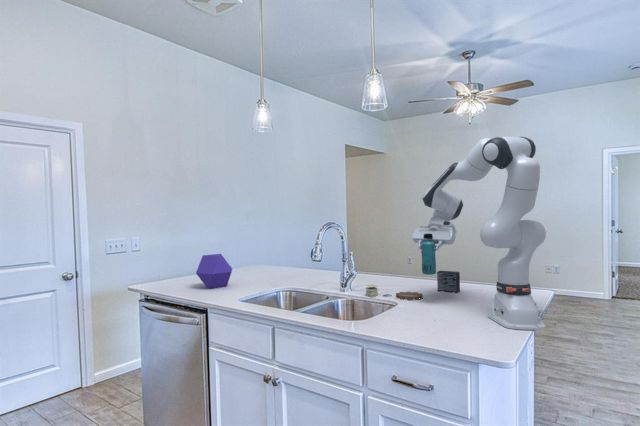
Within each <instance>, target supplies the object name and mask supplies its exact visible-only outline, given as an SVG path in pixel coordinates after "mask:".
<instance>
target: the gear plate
mask: <svg viewBox="0 0 640 426" xmlns="http://www.w3.org/2000/svg"><path fill="white" fill-rule="evenodd" d="M396 297H397V299H400V300H401V299H403V300H402V301H404V299H408V300H407V301H419V300H423V298H424V295H423V293H419V292H418V291H417V292H416V291H399V292H396V293H395V298H396ZM419 298H421V299H419ZM413 299H415V300H413Z"/></svg>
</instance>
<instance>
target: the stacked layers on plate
mask: <svg viewBox="0 0 640 426" xmlns="http://www.w3.org/2000/svg"><path fill="white" fill-rule="evenodd" d="M364 286H365V295H366V297H369V296H371V297H370V298H377V297H376V296H378V294H379V292H378V290H379V288H378V287H379V286H378V285H377V284H366V285H365V284H364Z"/></svg>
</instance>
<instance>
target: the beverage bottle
mask: <svg viewBox="0 0 640 426" xmlns="http://www.w3.org/2000/svg"><path fill="white" fill-rule="evenodd" d="M423 238H425V239H431V238H433V236H432V234H424V237H423ZM421 245H422V249H421V250H420V251H421V271H422V274H423V275H431V276H432V275H437V260H436V251H435V250H434V247H435V245H436V244H435V243H434V242H433V241H423V242H422V243H421Z"/></svg>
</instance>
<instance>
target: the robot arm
mask: <svg viewBox="0 0 640 426" xmlns="http://www.w3.org/2000/svg"><path fill="white" fill-rule="evenodd" d="M534 142H535V141H534V140H532V139H531V138H528V137H525V136H513V135H512V136H509V135H508V136H507V135H505V136H501V137H499V136H498V137H497V136H496V137H493V138H491V137H484V138H482V139H479V141H478V142H477V143H476V144H475V145H474V146H473V147H472V149H471V150H470V151H469V153H468V155H466V157H465V158H464V159H462V160H461V161H459V162H454V163H452V164H451V165H450V166H449V167H448V168H447V169H446V170H445V171H444V172H443V173H442V174H441V175H440V176H439V177H438V179H436V181H434V182H433V184H431V186H429V187H428V188H427V189H426V190H425V192H423V196H422V202H423V204H424V206H425V207H428V208H431V209H434V211H433V213H432V214H433V215H432V216H431V217H430V220H429V221H428V224H427V225H426V226H419V227H417V228H416V229H415V230H414V232H413V234H412V235H411V239H412V241H413V243H414V244H415V243H416V244H418V250H420V251H422V250H421V249H422V244H421V243H422V242H423V241H433V242H434V243H435V247H434V250H435V252H436V251H439V250H440V248H441V247H443V246H444V245H448V246H450V245H453V244H454V243H455V241H456V235H457V229H456V226H455V225H454V224H453V222H451V221H453V220H455V219H457V218H458V217H459V216H460V214H461V212H462V210H463V207H464V202H463V200H462V198H459V197H457V196H456V195H453V194H451V193H449V192H447V191H445V190H443V188H444V187H445V186H447V184H448V183H449V182H450V181H452V180H453V181H454V180H462V181H467V182H476V181H480V180H483V179H484V178H485V177H486V176H487V175H488V174H489V172H490V171H491V170H492V168H493V167H496V168H497V169H499V170H506V172H507V179H506V183H505V189H504V193H503V197H502V200H501V204H500V207H499V208H498V210H497V211H496V213H495V214H494V216H492V217H491V218H490V219H488V221H485V223H483V224H482V226H481V228H480V231H479V238H480V241H481V243H483V244H484V246H485V247H489V248H494V249H508V252H507V253H506V255H505V256H503V257H502V258H501V259H500V260H498V263H497V281H496V291H497V292H496V293H495V294H494V295H493V296H492V308H491V309H492V313H488V315H487V317H488V318H489V319H491V320H492V321H494V322H495V323H498V324H499V325H500V326H502V327H504V328H507V329H513V330H522V331H541V330H546V325H545V323H544V322H543V320H542V319H541V317H540V316H539V315H541V314H542V308H541V307H538V306H537V302H536V301H535V300H534V298H533V296H532V288H531V287H532V286H531V284H530V280H529V279H530V264H531V260H532V257H533V254H534V253H535V251H536V250H537V249H538V247H540V246H541V245H542V244H543V243H544V242H545V239H546V236H547V231H546V229H545V227H544V225H543V224H542V223H541V222H539V221H535V220H531V219H522V218H523V217H524V216H525V215H526V214H528V213H530V212H531V211H532V210H533V209H534V208H535V206H536V199H537V195H538V189H539V186H540V179H541V178H540V177H541V165H540V163H539V161H538V160H536V159H535V158H534V156H535V155H536V150H537V148H536V144H535V143H534ZM424 234H432V236H433V238H431V239H425V238H423V237H424Z"/></svg>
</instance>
